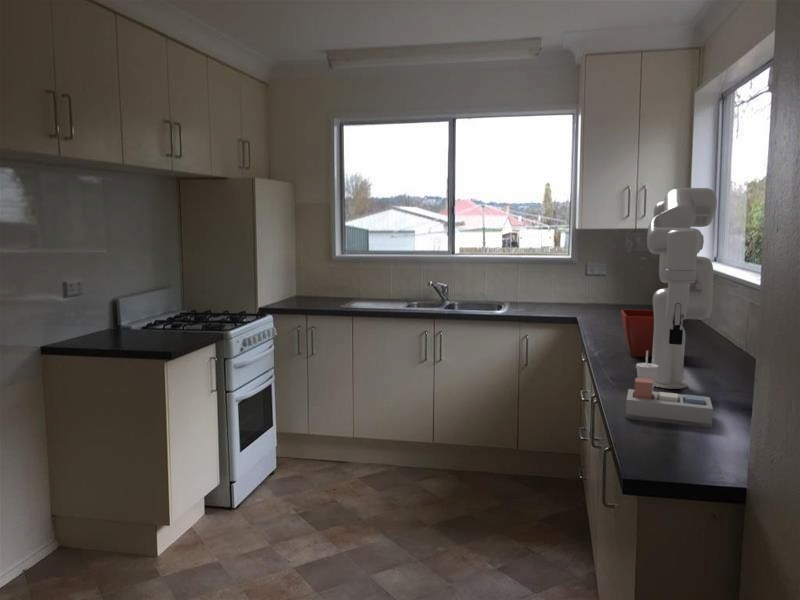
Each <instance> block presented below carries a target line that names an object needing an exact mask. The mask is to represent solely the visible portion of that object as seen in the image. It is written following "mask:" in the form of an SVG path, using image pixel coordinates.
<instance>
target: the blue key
mask: <svg viewBox="0 0 800 600" xmlns="http://www.w3.org/2000/svg"><path fill="white" fill-rule="evenodd" d="M684 395H685V403H690V404H699V405H705V399H704V397H705V396H704V395H694V394H684Z"/></svg>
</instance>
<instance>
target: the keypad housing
mask: <svg viewBox="0 0 800 600" xmlns="http://www.w3.org/2000/svg"><path fill="white" fill-rule="evenodd" d="M660 392H661V391H654V390H653V391H652V399H643V398H634V389H633V388H632V389H631V388H628V390H627V396H626V401H625V402H626V404H625V419H628V420H636V421H646V422H654V423H661V422H663V423H664V424H669V423H672V424H671V425H677V424H678V425H677V426H686V427H687V426H688V427H696V428H704V429H712V425H713V416H714V415H713V414H714V413H713V412H714V408H713V404H712V400H711V398H710V396H704V399H705V405H699V404H690V403H685V395H686V394H682V393H677V394H678V402H671V401H662V400H659V397H660ZM663 423H662V424H663Z"/></svg>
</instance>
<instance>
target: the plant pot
mask: <svg viewBox="0 0 800 600" xmlns="http://www.w3.org/2000/svg"><path fill="white" fill-rule="evenodd" d="M620 312H621V321H622V328H623V332H624V333H623V334H624V337H625V343H626V346H627V349H628V353H629V354H630V356H631V357H634V358H646V351H648V358H649V357H652V352H653V336H654V311H653V310H652V309H651V310H650V309H625V308H624V309H621V311H620Z"/></svg>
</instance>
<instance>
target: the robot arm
mask: <svg viewBox="0 0 800 600" xmlns="http://www.w3.org/2000/svg"><path fill="white" fill-rule="evenodd" d="M717 199H718V198H717V195H716V193H715V191H714V190H713V189H711V188H708V187H680V188H674V189H671V190H670V191H668V192H667V193H666V195H665V197H664V200H662V201H659V202H658V203H656V204H655V205H654V208H653V218H652V219H651V221H650V223H649V224H648V227H647V237H646V239H647V240H646V244H647V249H648V250H649V252H650V253H651V254H654V255H657V256H658V255H659V262H658V263H659V265H658V275H659V276H658V277H659V280H660V282H662V283H663V284H665V285H667V287H664V288H660V289H658V290H656V291H655V292H654V294H653V296H652V309H653V311H654V336H653V352H652V358H651V364H655V365H658V370H657V373H656V378H655V383H654V388H655V387H656V388H659V387H660V388H661V389H667V390H669V389H670V390H673V389H674V390H679V389H685V388H688V382H687V381H686V380H684V379H683V374H684V362H685V361H684V360H685V349H686V348H685V347H686V346H685V345H686V331H685V328H684V327H683V321H684V320H706V319H709V318H710V316H711V314H712V313H713V312H712V311H713V303H714V302H713V297H714V294H713V293H714V267H713V262H712V260H711V259H710V258H708V257H706V256H699V255H698V254H699V253H700V252H701V250H703V248H704V244H705V243H704V242H705V241H704V239H705V237H704V234H702V231H701V230H700V229H697V228H704V227H708V226H709V225H710V224H711V223H712V222H713V219H714V216H715V214H716V210H717V208H718V207H717V206H718V200H717ZM692 286H693V287H695V289H694V288H693V289H692V288H691V287H692Z"/></svg>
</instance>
